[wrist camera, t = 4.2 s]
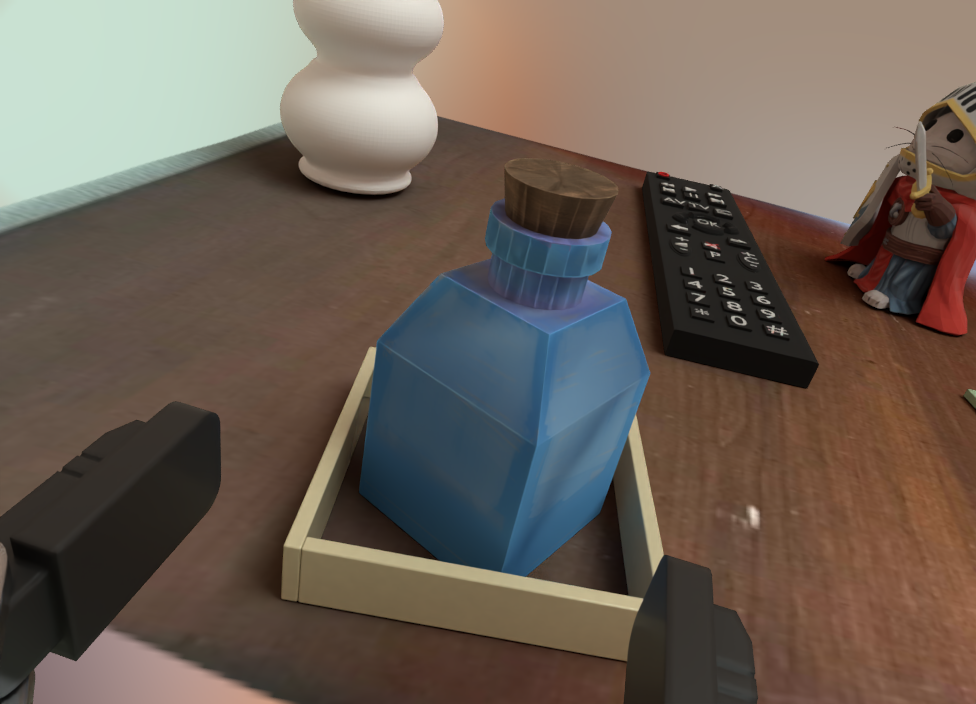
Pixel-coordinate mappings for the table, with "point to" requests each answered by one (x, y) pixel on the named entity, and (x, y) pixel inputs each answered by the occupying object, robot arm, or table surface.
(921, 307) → the figurine
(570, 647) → the holder
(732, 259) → the remote control
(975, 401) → the mat
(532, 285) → the perfume bottle
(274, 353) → the table surface
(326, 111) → the vase
